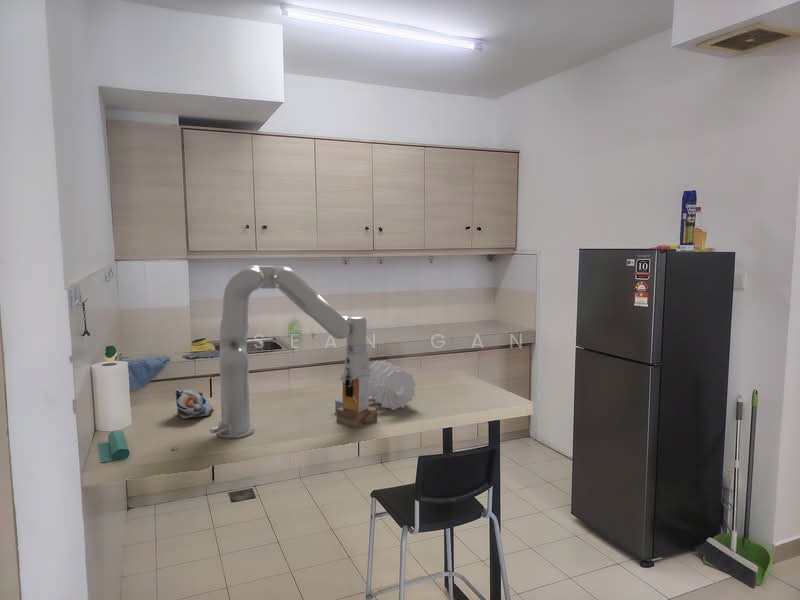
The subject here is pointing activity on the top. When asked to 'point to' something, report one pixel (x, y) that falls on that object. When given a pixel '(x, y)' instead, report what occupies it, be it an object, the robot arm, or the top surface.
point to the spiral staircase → (390, 385)
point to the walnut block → (356, 416)
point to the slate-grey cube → (338, 404)
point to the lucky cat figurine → (192, 404)
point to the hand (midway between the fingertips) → (356, 393)
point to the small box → (357, 395)
